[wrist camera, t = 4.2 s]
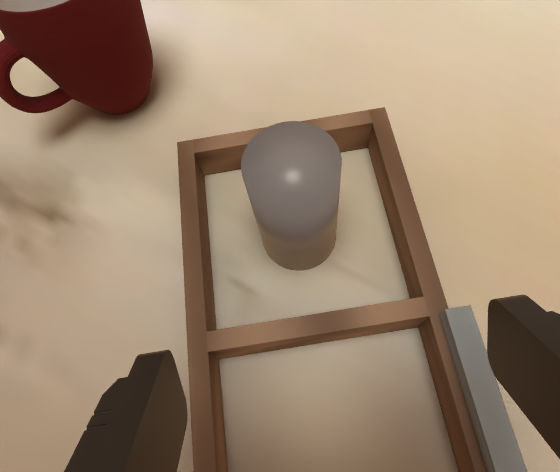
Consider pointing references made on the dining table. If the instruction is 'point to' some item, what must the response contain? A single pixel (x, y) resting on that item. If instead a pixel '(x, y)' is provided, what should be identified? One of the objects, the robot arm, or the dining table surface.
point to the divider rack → (343, 323)
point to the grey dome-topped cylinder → (294, 191)
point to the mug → (78, 52)
